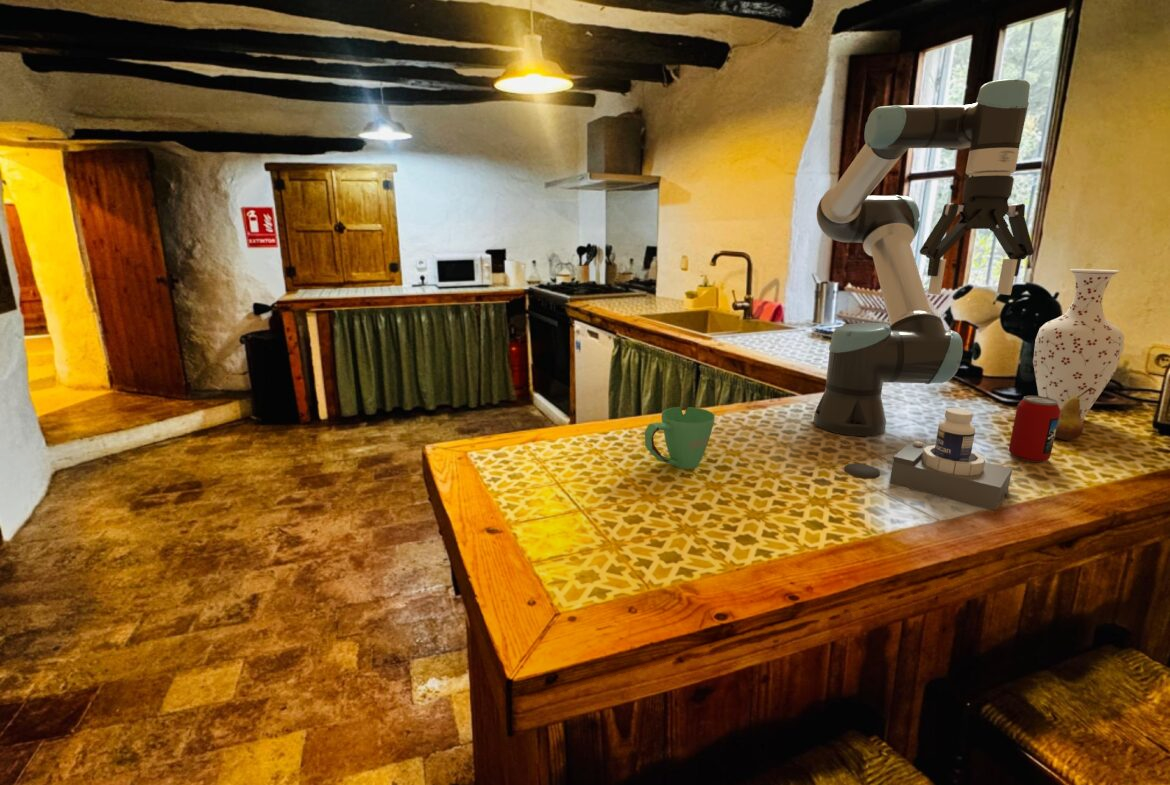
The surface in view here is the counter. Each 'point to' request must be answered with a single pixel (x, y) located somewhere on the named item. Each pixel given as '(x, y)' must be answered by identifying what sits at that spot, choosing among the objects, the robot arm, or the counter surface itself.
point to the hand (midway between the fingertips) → (968, 294)
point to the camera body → (951, 476)
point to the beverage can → (1034, 428)
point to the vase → (1079, 345)
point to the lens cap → (862, 470)
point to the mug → (682, 436)
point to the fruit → (1070, 420)
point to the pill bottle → (955, 435)
